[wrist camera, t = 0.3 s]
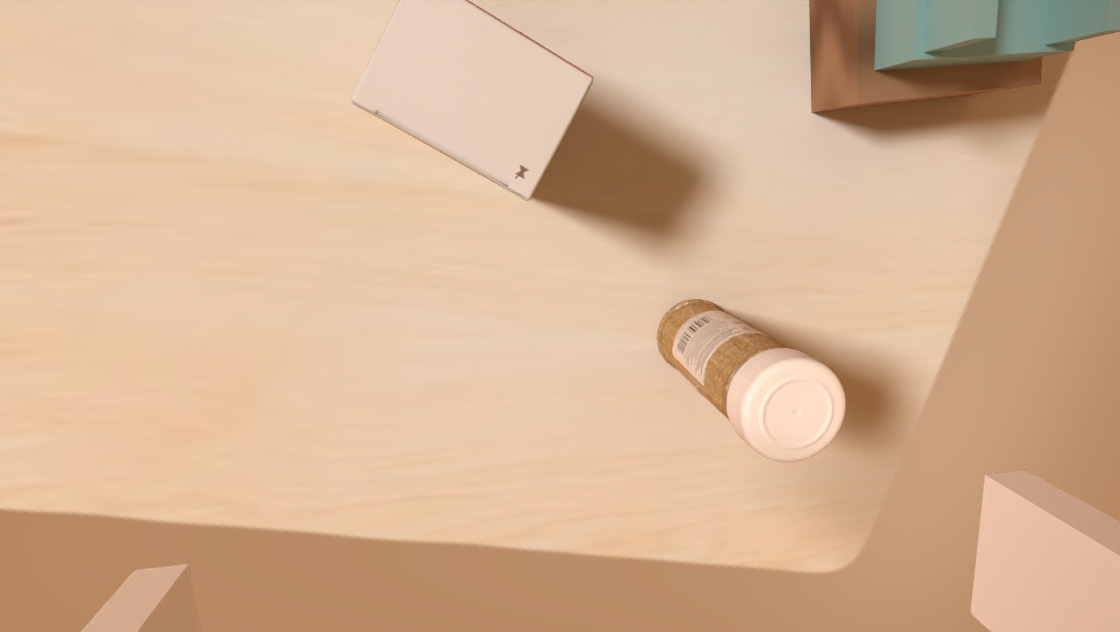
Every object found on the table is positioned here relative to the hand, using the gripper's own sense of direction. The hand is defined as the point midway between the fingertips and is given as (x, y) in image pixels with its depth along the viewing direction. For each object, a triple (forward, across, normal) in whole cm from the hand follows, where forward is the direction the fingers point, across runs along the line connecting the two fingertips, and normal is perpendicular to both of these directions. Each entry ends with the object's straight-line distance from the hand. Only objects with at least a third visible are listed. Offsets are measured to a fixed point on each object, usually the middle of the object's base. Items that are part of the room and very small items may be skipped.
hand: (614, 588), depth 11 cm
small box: (+28, -2, +10) cm, 29 cm away
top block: (+23, +22, +13) cm, 34 cm away
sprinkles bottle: (+28, +10, -3) cm, 30 cm away
